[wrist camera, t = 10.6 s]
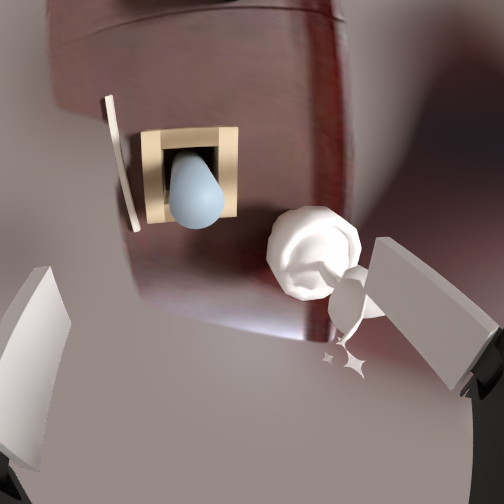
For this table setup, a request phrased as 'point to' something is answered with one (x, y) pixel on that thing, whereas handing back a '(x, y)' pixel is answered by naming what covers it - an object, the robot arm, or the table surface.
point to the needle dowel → (194, 192)
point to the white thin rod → (121, 162)
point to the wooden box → (181, 137)
